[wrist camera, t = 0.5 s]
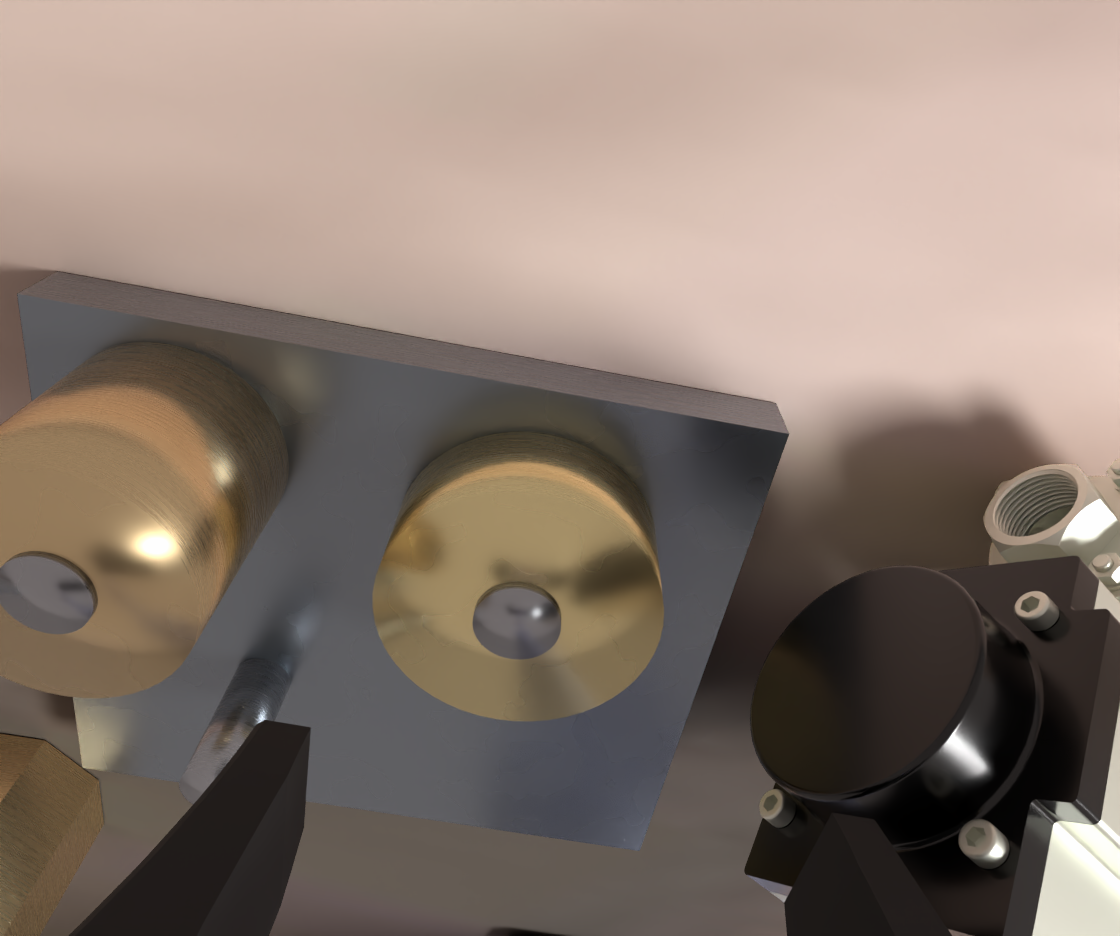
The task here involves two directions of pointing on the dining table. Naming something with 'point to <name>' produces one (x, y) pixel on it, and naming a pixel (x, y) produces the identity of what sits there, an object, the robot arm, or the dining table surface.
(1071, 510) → the pneumatic valve
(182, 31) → the dining table surface
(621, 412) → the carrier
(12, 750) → the tan hollow octagonal prism
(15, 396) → the dining table surface
